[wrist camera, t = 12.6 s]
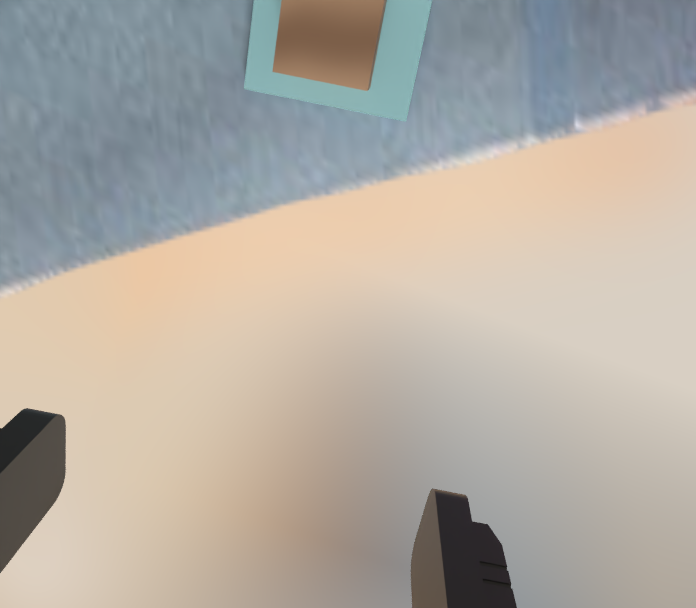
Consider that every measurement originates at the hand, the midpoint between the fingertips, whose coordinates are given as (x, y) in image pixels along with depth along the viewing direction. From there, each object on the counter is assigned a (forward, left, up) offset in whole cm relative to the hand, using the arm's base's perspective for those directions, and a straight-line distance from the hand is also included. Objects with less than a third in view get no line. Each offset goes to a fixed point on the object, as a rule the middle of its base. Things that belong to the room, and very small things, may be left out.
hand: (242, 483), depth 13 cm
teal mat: (-2, +10, -28) cm, 30 cm away
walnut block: (-2, +10, -27) cm, 29 cm away
